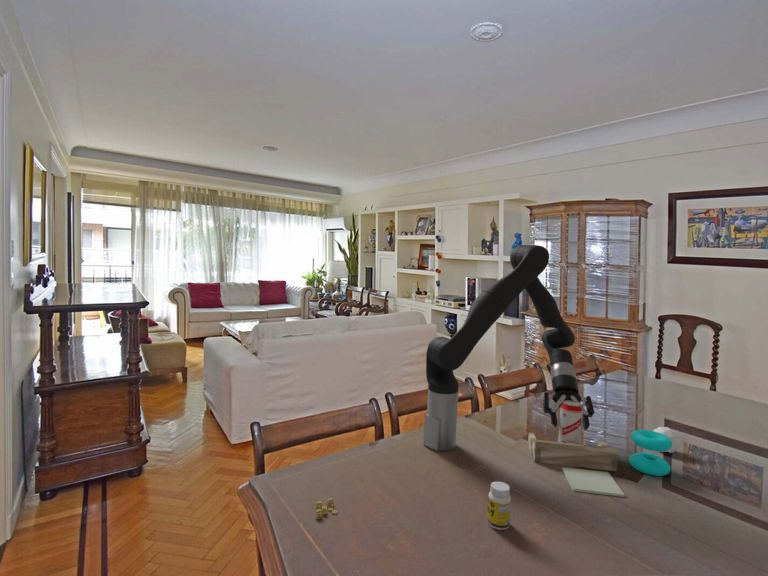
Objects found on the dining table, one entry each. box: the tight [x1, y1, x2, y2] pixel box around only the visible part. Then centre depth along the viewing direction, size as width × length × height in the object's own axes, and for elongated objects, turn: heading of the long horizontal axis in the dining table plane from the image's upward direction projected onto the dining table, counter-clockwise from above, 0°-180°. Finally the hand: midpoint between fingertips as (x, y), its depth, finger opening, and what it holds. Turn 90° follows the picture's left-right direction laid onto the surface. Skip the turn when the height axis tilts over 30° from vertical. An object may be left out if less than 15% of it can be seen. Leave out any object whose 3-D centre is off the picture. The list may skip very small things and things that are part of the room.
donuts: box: [628, 429, 672, 477], centre depth 122 cm, size 10×10×10 cm
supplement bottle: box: [486, 481, 512, 531], centre depth 93 cm, size 5×5×8 cm
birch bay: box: [527, 432, 619, 472], centre depth 128 cm, size 12×22×6 cm, turn 80°
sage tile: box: [561, 466, 626, 498], centre depth 113 cm, size 12×12×1 cm
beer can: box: [557, 400, 583, 444], centre depth 129 cm, size 6×6×16 cm
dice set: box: [314, 497, 339, 520], centre depth 95 cm, size 5×5×2 cm
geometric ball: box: [652, 426, 681, 454], centre depth 135 cm, size 8×8×8 cm
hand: (570, 427), depth 128 cm, fingers open, 8 cm apart
